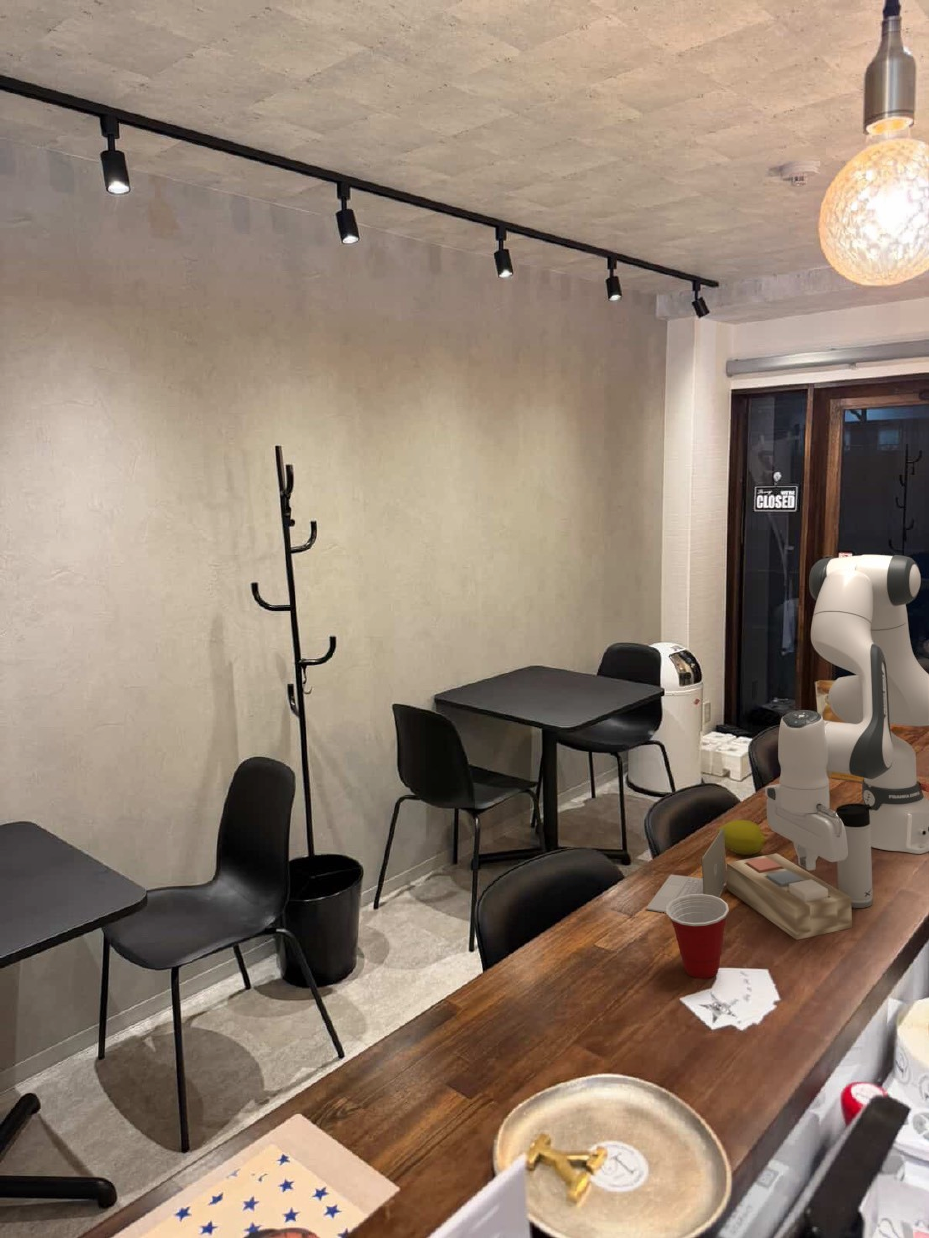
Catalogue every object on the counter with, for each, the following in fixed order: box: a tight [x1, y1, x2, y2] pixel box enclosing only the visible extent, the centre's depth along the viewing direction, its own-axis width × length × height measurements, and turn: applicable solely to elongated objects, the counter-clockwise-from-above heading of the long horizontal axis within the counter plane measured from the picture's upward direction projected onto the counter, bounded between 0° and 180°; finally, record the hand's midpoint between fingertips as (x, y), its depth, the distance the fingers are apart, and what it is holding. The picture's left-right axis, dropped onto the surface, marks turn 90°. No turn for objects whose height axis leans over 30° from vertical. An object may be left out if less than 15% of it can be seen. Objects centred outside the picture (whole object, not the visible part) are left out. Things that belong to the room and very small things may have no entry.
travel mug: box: [835, 802, 874, 909], centre depth 176 cm, size 6×7×20 cm
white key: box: [789, 879, 828, 903], centre depth 169 cm, size 5×5×3 cm
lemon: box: [717, 819, 767, 856], centre depth 206 cm, size 11×8×8 cm
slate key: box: [767, 870, 804, 887], centre depth 177 cm, size 5×5×3 cm
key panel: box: [726, 852, 853, 941], centre depth 177 cm, size 12×24×6 cm, turn 14°
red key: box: [746, 858, 782, 873], centre depth 184 cm, size 5×5×3 cm
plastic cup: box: [665, 894, 730, 979], centre depth 156 cm, size 11×11×12 cm
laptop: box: [645, 827, 728, 914], centre depth 185 cm, size 18×12×13 cm
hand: (807, 867), depth 169 cm, fingers closed
